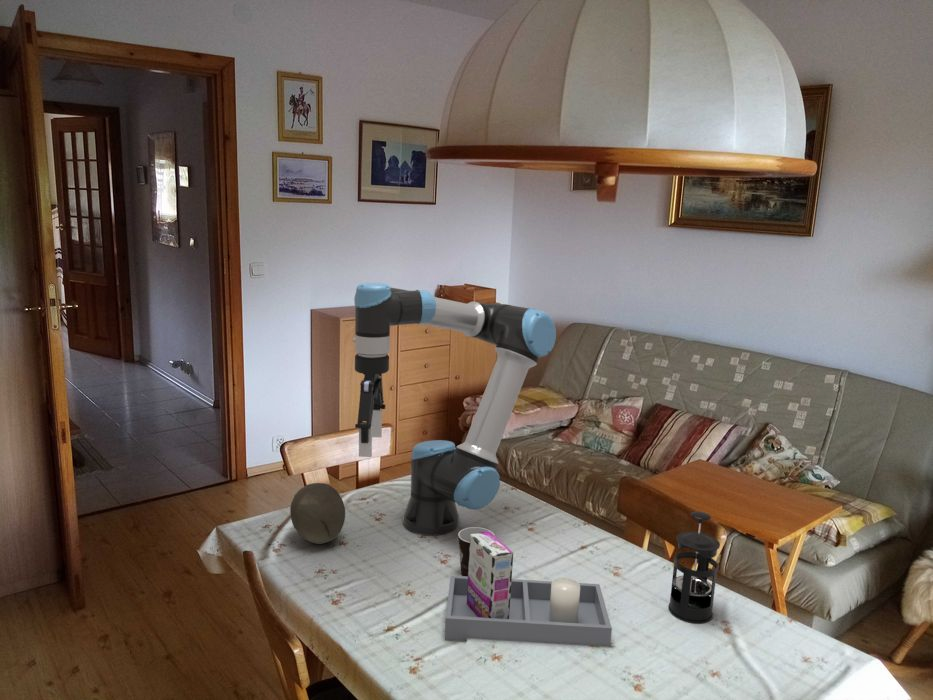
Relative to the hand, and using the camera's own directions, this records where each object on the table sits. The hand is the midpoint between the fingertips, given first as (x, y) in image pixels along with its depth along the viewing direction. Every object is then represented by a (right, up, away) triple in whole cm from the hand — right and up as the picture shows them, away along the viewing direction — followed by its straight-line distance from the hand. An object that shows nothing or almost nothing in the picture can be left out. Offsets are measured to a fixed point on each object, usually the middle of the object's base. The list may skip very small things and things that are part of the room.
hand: (370, 446), depth 160 cm
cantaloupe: (-17, -28, +22) cm, 39 cm away
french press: (+71, -36, -3) cm, 80 cm away
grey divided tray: (+34, -36, -10) cm, 50 cm away
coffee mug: (+24, -32, +10) cm, 41 cm away
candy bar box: (+26, -35, -9) cm, 44 cm away
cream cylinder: (+42, -35, -10) cm, 56 cm away
